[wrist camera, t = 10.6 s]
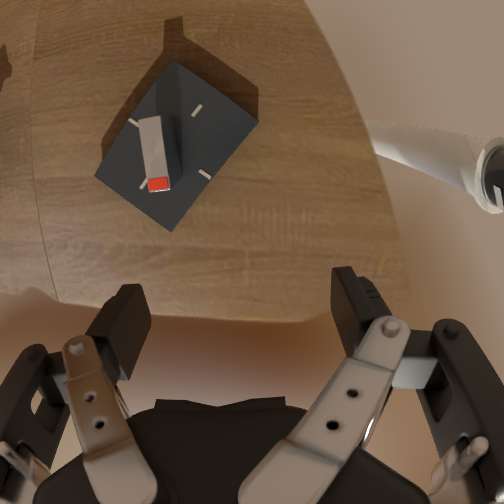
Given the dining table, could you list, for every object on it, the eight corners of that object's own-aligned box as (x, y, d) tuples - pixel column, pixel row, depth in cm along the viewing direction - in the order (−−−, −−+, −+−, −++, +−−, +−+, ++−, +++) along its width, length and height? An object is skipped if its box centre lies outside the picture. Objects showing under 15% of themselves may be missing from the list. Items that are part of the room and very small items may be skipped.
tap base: (177, 62, 27) (172, 58, 25) (258, 121, 30) (259, 121, 28) (102, 171, 32) (93, 176, 30) (175, 224, 35) (170, 233, 33)
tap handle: (155, 118, 28) (136, 119, 22) (174, 114, 27) (159, 115, 22) (164, 179, 30) (148, 193, 25) (182, 176, 30) (170, 190, 25)
